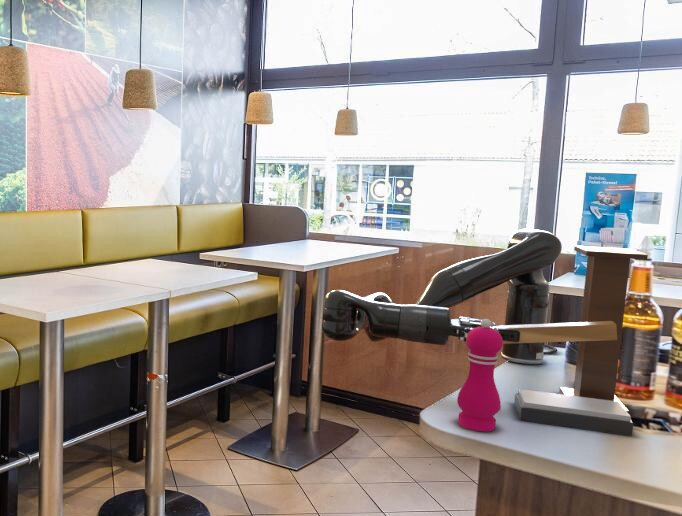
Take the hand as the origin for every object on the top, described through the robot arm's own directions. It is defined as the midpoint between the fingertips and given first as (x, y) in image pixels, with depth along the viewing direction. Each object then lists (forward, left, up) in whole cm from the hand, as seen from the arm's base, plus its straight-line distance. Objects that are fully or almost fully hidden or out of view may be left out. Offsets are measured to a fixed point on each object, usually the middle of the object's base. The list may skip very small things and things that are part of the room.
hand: (518, 334), depth 135 cm
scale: (0, +10, -15) cm, 18 cm away
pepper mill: (+12, -7, -16) cm, 21 cm away
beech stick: (0, +5, -1) cm, 5 cm away
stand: (-12, +16, -15) cm, 25 cm away
